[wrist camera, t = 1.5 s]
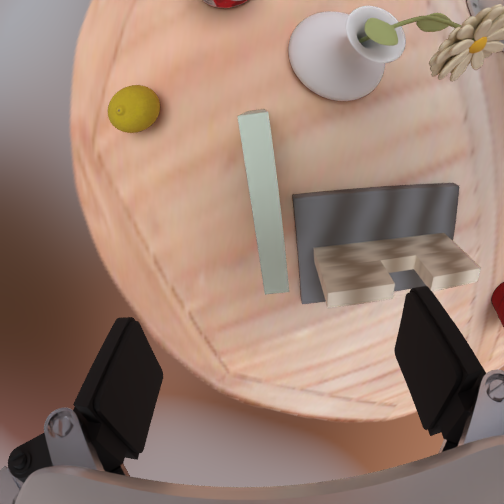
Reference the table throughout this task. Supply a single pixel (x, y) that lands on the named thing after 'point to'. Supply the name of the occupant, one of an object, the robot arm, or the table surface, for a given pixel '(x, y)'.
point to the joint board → (378, 243)
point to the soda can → (224, 3)
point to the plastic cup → (499, 302)
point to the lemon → (133, 109)
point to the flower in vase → (383, 47)
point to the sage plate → (264, 198)
